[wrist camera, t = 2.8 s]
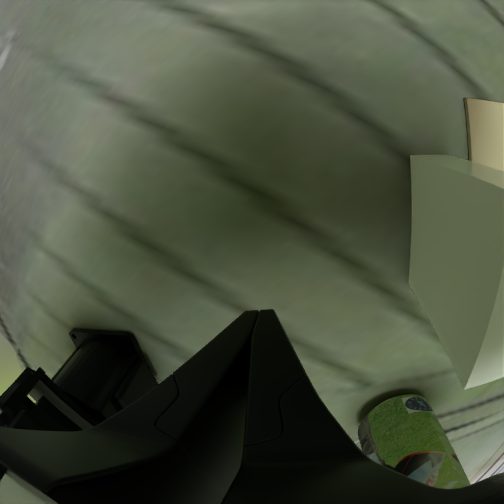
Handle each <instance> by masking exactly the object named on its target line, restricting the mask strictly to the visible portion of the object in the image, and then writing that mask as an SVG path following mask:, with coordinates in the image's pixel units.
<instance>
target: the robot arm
mask: <svg viewBox="0 0 504 504" xmlns="http://www.w3.org/2000/svg"><path fill="white" fill-rule="evenodd" d="M69 335H70V337H71V339H72V341H73V343H74V344H75V346H76V348H77V349H76V350H75V351H74V352H73V353H72V355H71V356H70V357H69V358H68V359H67V361H66V362H65V363H64V364H63V365H62V367H61V368H60V369H59V370H58V372H57V373H56V374H55V375H54V377H53V378H52V379H50V378H49V377H48V376H47V375H46V374H45V372H44V370H43V369H42V368H41V367H39V368H38V369H37V371H35V370H32V369H30V368H28V367H27V368H26V369H25V370H24V371H23V372H22V374H21V375H20V376H19V377H18V378H17V379H16V380H15V382H14V383H13V384H12V385H11V386H10V387H9V388H8V389H7V390H6V391H5V392H4V393H3V394H2V395H1V396H0V504H504V473H500V474H497V475H494V476H492V477H489V478H486V479H484V480H482V481H479V482H477V483H474V484H472V485H469V486H465V487H462V488H453V489H445V488H437V487H433V486H429V485H427V484H424V483H422V482H419V481H417V480H415V479H412V478H410V477H407V476H405V475H403V474H401V473H398V472H396V471H394V470H392V469H390V468H387V467H385V466H383V465H381V464H379V463H377V462H375V461H373V460H372V459H370V458H369V457H368V456H366V455H365V454H364V453H363V452H362V451H361V450H360V449H359V448H358V446H357V445H356V444H355V443H354V442H353V440H352V439H351V438H350V437H349V435H348V434H347V433H346V432H345V430H344V429H343V428H342V427H341V425H340V424H339V423H338V422H337V420H336V419H335V418H334V416H333V415H332V414H331V413H330V411H329V410H328V409H327V407H326V406H325V404H324V403H323V402H322V400H321V399H320V397H319V395H318V394H317V392H316V390H315V389H314V387H313V385H312V383H311V381H310V379H309V377H308V376H307V374H306V372H305V370H304V368H303V366H302V364H301V362H300V360H299V358H298V356H297V354H296V352H295V350H294V348H293V346H292V344H291V342H290V340H289V338H288V336H287V334H286V332H285V331H284V329H283V327H282V325H281V323H280V321H279V319H278V317H277V315H276V313H275V311H274V310H273V309H267V310H260V312H259V311H258V310H250V311H245V312H243V313H242V314H241V315H240V316H239V317H238V318H237V319H236V320H234V321H233V322H232V323H231V324H230V325H229V326H228V327H226V328H225V329H224V330H223V331H222V332H221V333H219V334H218V335H217V336H216V337H215V338H214V339H212V340H211V341H210V342H209V343H208V344H207V345H205V346H204V347H203V348H202V349H201V350H200V351H198V352H197V353H196V354H195V355H194V356H193V357H191V358H190V359H189V360H188V361H187V362H185V363H184V364H183V365H182V366H181V367H179V368H178V369H177V370H176V371H175V372H173V374H171V375H170V376H168V377H167V378H166V379H165V380H164V381H162V382H161V383H160V384H159V385H157V383H156V381H155V379H154V377H153V376H152V374H151V372H150V370H149V368H148V365H147V363H146V361H145V359H144V357H143V355H142V353H141V351H140V349H139V347H138V344H137V342H136V340H135V338H134V336H133V335H132V334H130V333H128V332H116V331H99V330H86V329H72V330H71V331H70V332H69ZM28 394H29V395H30V396H31V397H32V398H33V399H34V400H35V401H36V403H33V402H32V401H31V400H30V399H29V398H28V397H27V396H28Z"/></svg>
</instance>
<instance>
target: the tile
mask: <svg viewBox="0 0 504 504" xmlns="http://www.w3.org/2000/svg"><path fill="white" fill-rule="evenodd" d="M410 164H411V188H412V230H411V254H410V269H409V281H408V284H409V286H410V287H411V289H412V291H413V292H414V294H415V296H416V297H417V299H418V301H419V302H420V304H421V306H422V308H423V309H424V311H425V313H426V315H427V317H428V318H429V320H430V322H431V324H432V326H433V327H434V329H435V331H436V333H437V335H438V337H439V339H440V341H441V343H442V345H443V346H444V348H445V350H446V352H447V354H448V356H449V358H450V360H451V363H452V365H453V367H454V369H455V371H456V373H457V375H458V377H459V380H460V382H461V384H462V386H463V388H464V390H465V389H468V388H472V387H475V386H478V385H482V384H485V383H488V382H491V381H494V380H497V379H499V378H502V377H504V172H503V171H500V170H497V169H494V168H491V167H488V166H485V165H482V164H479V163H475V162H472V161H468V160H465V159H461V158H458V157H454V156H450V155H410Z"/></svg>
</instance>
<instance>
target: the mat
mask: <svg viewBox="0 0 504 504" xmlns="http://www.w3.org/2000/svg"><path fill="white" fill-rule="evenodd" d="M464 103H465V111H466V121H467V132H468V148H469V161H472V162H475V163H479V164H482V165H485V166H488V167H491V168H494V169H497V170H500V171H503V172H504V103H498V102H492V101H485V100H478V99H470V98H464Z"/></svg>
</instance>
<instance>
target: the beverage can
mask: <svg viewBox="0 0 504 504" xmlns="http://www.w3.org/2000/svg"><path fill="white" fill-rule="evenodd" d="M358 437H359V440H360V444H361V447H362V451H363V453H364V454H365V455H366V456H368V457H369V458H370V459H372V460H373V461H375V462H377V463H379V464H381V465H383V466H385V467H387V468H390V469H392V470H394V471H396V472H398V473H401V474H403V475H405V476H407V477H410V478H412V479H415V480H417V481H419V482H422V483H424V484H427V485H429V486H433V487H437V488H445V489H453V488H462V487H465V486H469V485H470V483H469V480H468V478H467V476H466V474H465V472H464V470H463V468H462V466H461V464H460V462H459V460H458V458H457V456H456V454H455V452H454V450H453V448H452V446H451V444H450V442H449V440H448V438H447V436H446V434H445V432H444V430H443V429H442V427H441V425H440V423H439V421H438V419H437V417H436V416H435V414H434V412H433V410H432V408H431V407H430V405H429V403H428V401H427V400H426V399H425V398H424V397H422V396H421V395H417V394H407V395H402V396H396V397H393V398H390V399H388V400H386V401H384V402H382V403H380V404H379V405H378V406H376V407H375V408H374V409H373V410H372V411H371V412H369V413H368V414H367V415H366V417H365V418H364V419H363V420H362V422H361V423H360V426H359V428H358Z"/></svg>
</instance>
